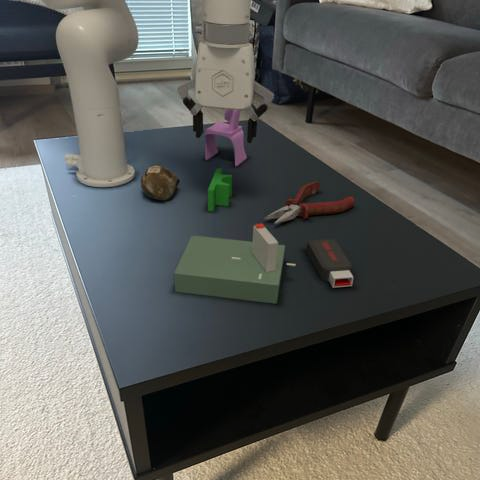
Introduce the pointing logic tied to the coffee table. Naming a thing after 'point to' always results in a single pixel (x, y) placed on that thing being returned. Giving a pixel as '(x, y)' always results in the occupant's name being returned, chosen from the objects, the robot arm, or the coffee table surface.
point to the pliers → (309, 205)
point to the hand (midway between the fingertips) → (224, 138)
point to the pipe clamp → (219, 190)
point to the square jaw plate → (264, 247)
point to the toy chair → (229, 131)
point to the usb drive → (330, 262)
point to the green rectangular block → (227, 270)
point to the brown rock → (159, 183)
